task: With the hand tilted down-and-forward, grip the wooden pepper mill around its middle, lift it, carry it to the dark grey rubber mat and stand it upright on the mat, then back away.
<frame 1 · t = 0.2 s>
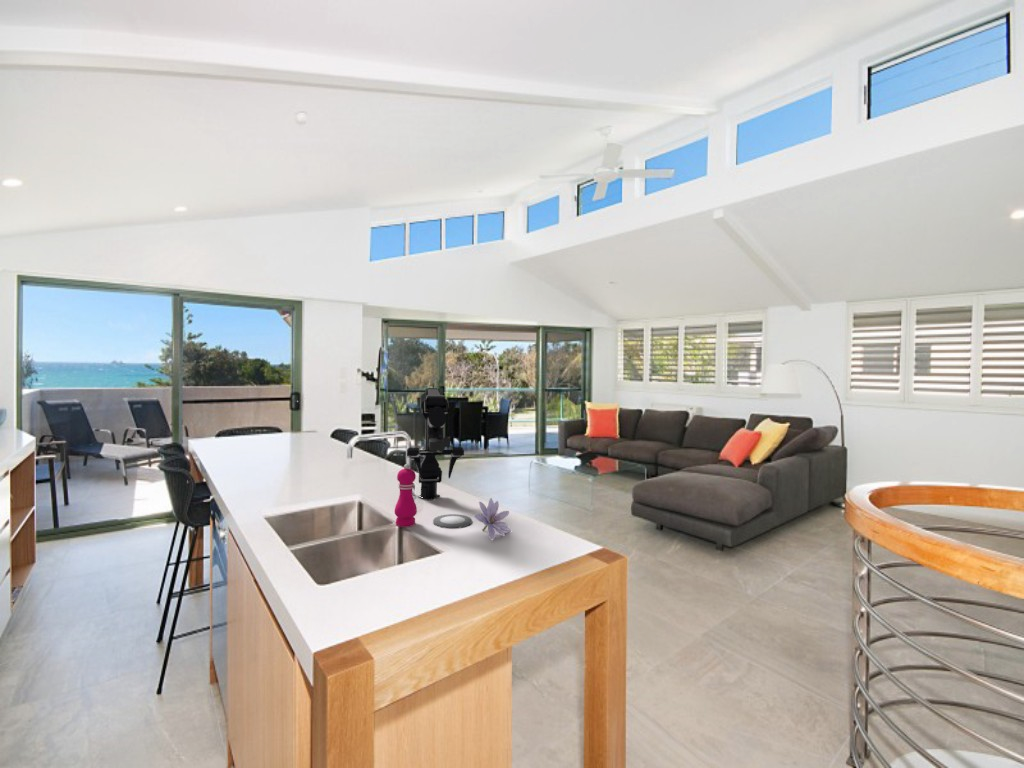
hand: (435, 478, 165), 15 cm above the worktop, tool tilted 15°, fingers open, 9 cm apart
pepper mill: (405, 524, 165), on the worktop
mat: (452, 521, 169), on the worktop
water lily: (493, 535, 157), on the worktop
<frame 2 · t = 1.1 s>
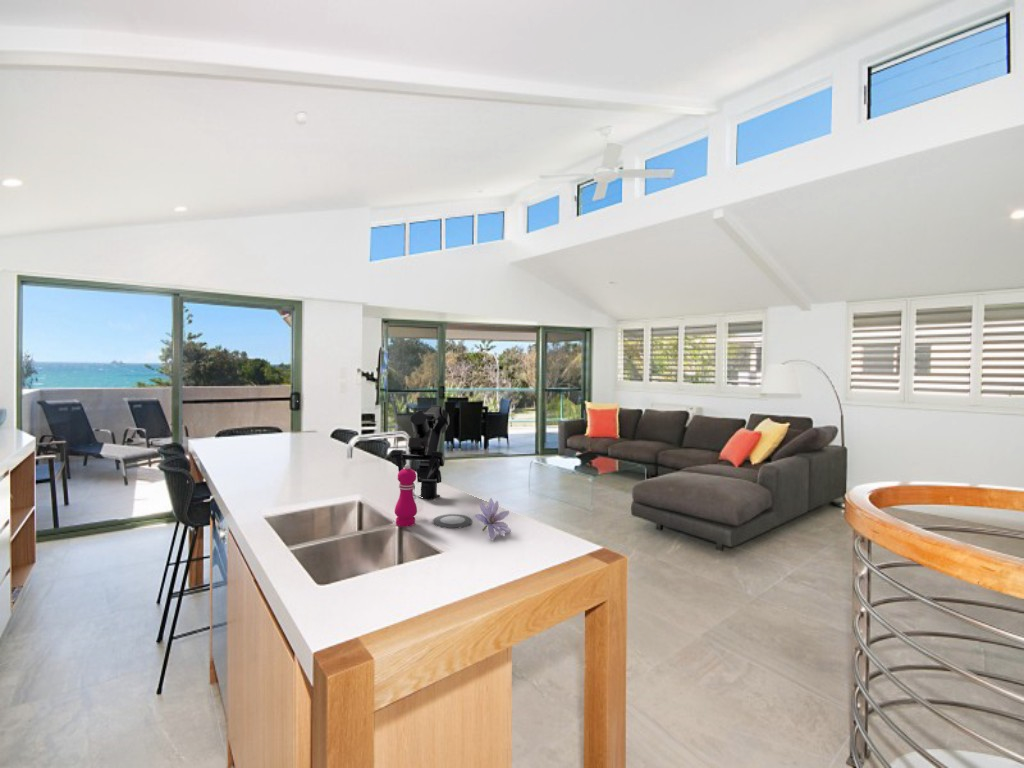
hand: (413, 478, 173), 13 cm above the worktop, tool tilted 45°, fingers open, 9 cm apart
nothing on the worktop moved.
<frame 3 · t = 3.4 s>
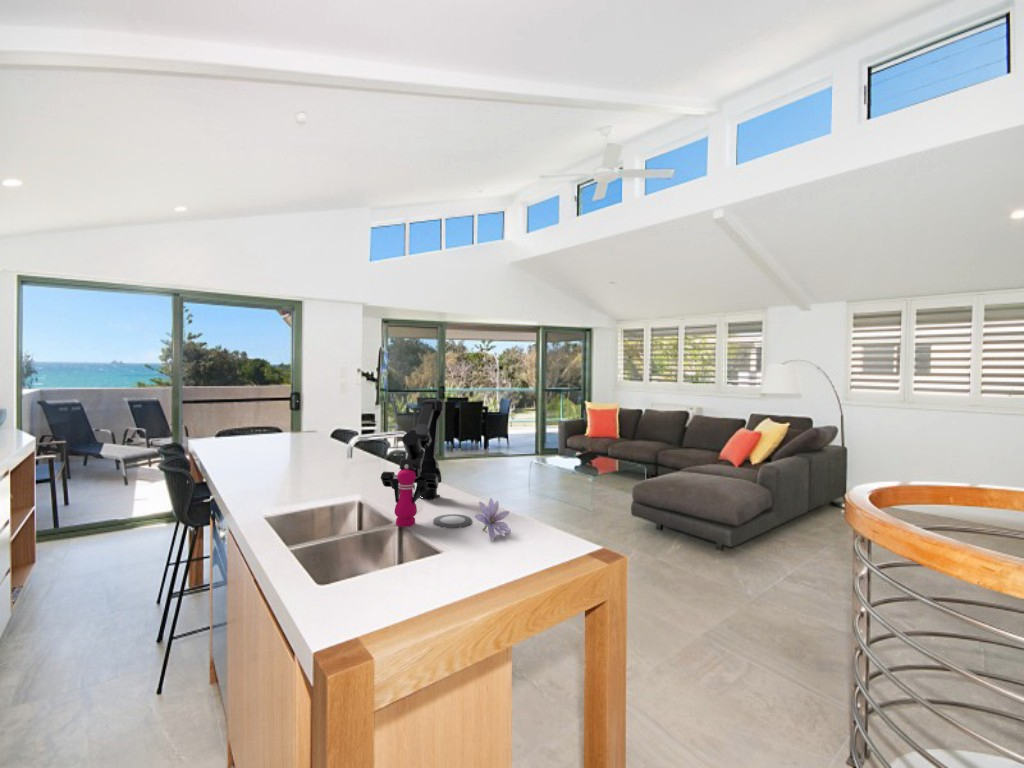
hand: (404, 502, 164), 8 cm above the worktop, tool tilted 45°, fingers open, 5 cm apart
nothing on the worktop moved.
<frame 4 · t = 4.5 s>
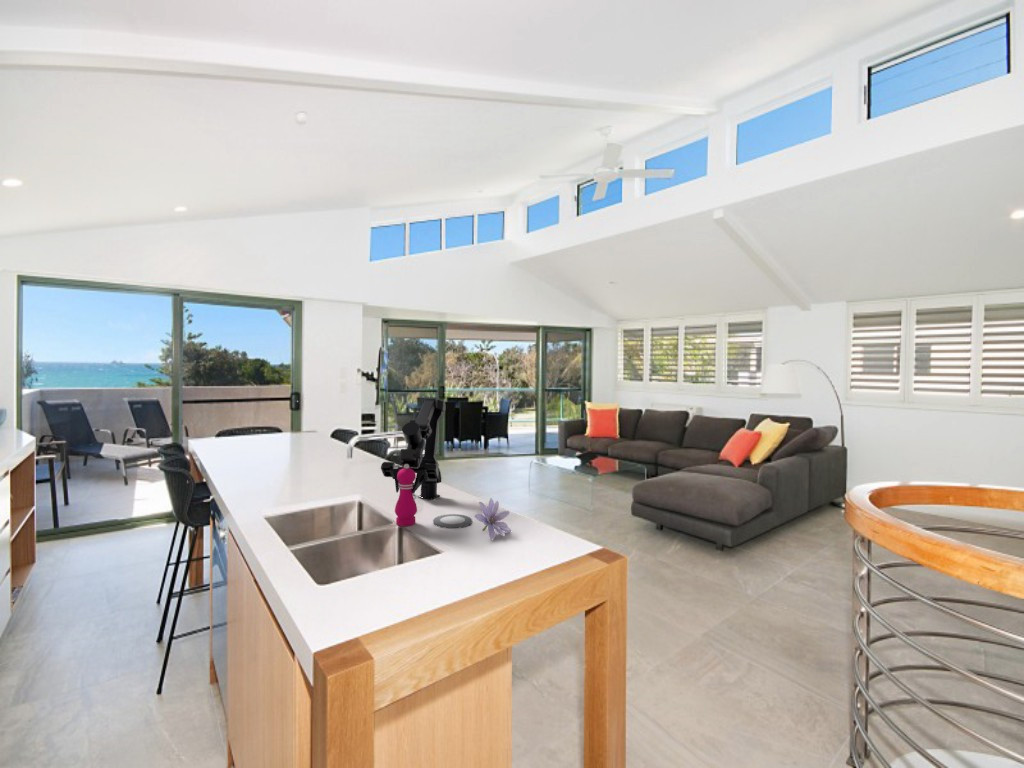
hand: (404, 492, 164), 11 cm above the worktop, tool tilted 45°, fingers closed on pepper mill, 5 cm apart
pepper mill: (405, 523, 166), on the worktop, touching gripper
everything else where it was.
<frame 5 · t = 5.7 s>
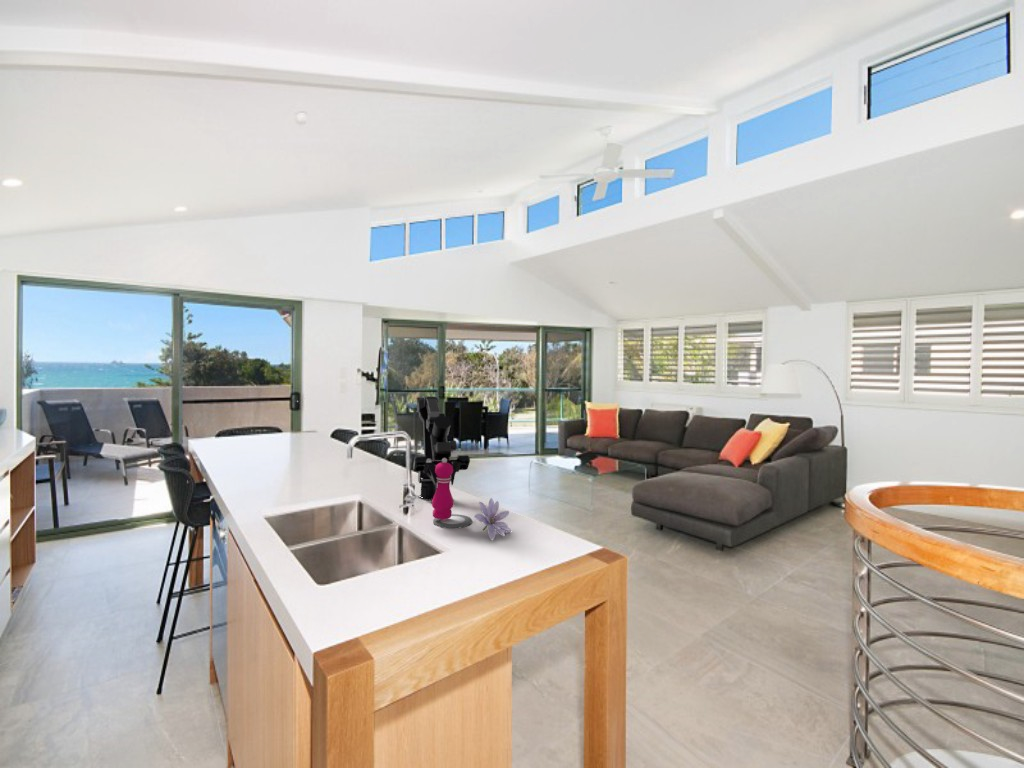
hand: (444, 484, 166), 13 cm above the worktop, tool tilted 45°, fingers closed on pepper mill, 5 cm apart
pepper mill: (442, 516, 168), point 2 cm above the worktop, touching gripper
everything else where it was.
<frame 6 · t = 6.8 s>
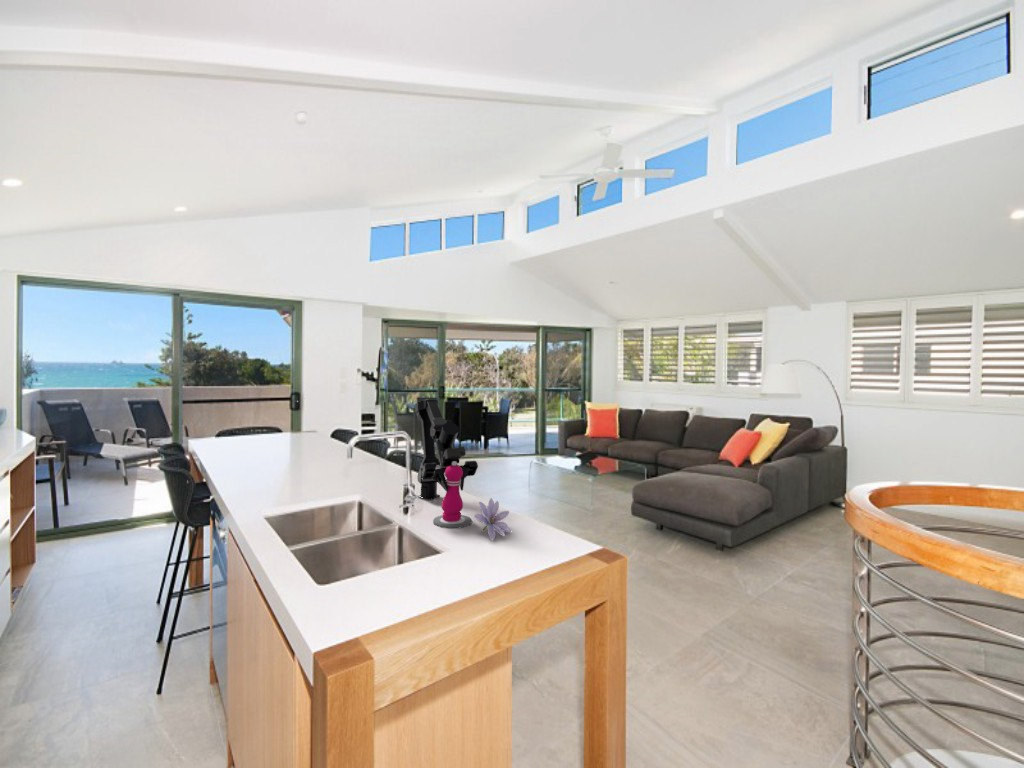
hand: (454, 490, 167), 11 cm above the worktop, tool tilted 45°, fingers closed on pepper mill, 5 cm apart
pepper mill: (451, 518, 170), point 1 cm above the worktop, touching gripper, mat
everything else where it was.
when the fingers open (11 cm above the worktop, at t = 7.4 s): pepper mill stays where it is, resting on mat.
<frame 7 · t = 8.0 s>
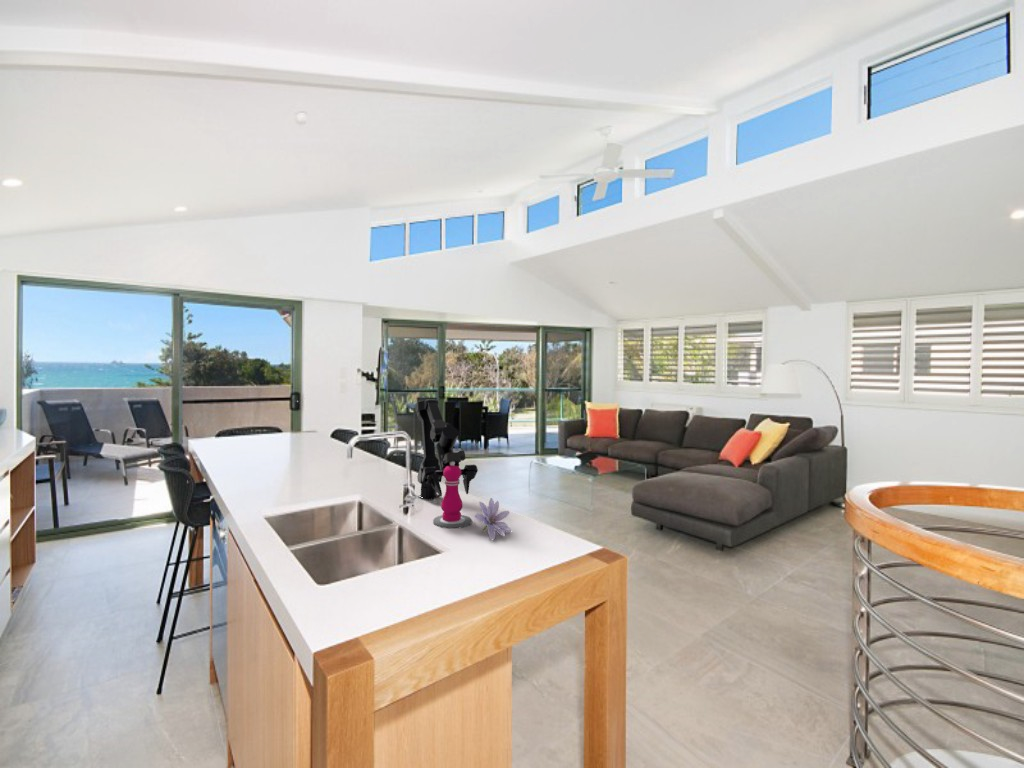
hand: (454, 494, 167), 10 cm above the worktop, tool tilted 45°, fingers open, 9 cm apart
pepper mill: (451, 518, 170), point 1 cm above the worktop, touching gripper, mat
everything else where it was.
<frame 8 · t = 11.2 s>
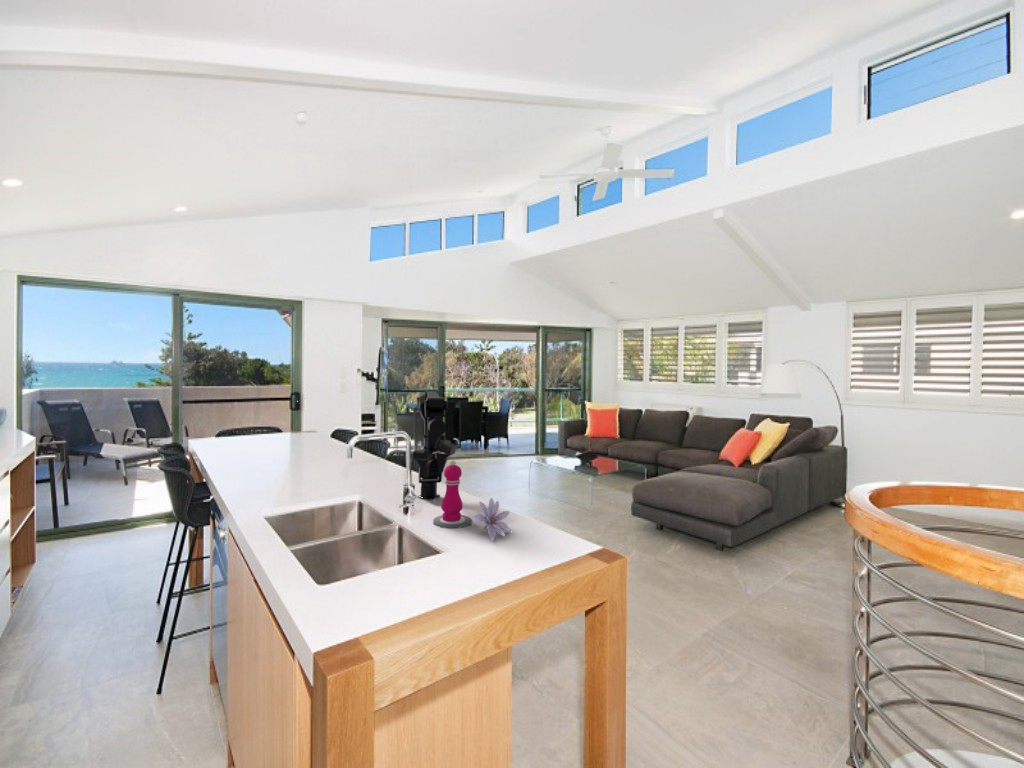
hand: (433, 475, 181), 13 cm above the worktop, tool pointing down, fingers open, 9 cm apart
pepper mill: (451, 519, 170), resting on mat
everything else where it was.
at the end: pepper mill 1.0 cm from the mat (horizontally); pepper mill tilted 0°; the gripper is holding nothing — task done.
